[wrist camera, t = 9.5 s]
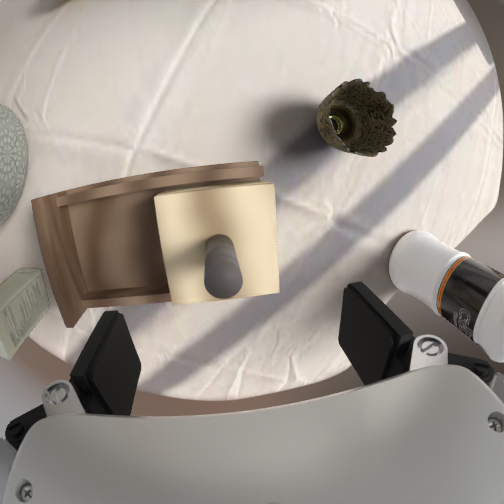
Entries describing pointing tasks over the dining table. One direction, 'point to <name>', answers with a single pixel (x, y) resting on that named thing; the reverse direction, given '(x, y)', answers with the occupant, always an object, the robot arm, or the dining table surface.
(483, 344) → the vodka
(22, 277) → the skincare box
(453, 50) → the dining table surface
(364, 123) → the olive hollow rounded container
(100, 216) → the bay
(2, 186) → the planter
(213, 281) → the drawer front with knob
